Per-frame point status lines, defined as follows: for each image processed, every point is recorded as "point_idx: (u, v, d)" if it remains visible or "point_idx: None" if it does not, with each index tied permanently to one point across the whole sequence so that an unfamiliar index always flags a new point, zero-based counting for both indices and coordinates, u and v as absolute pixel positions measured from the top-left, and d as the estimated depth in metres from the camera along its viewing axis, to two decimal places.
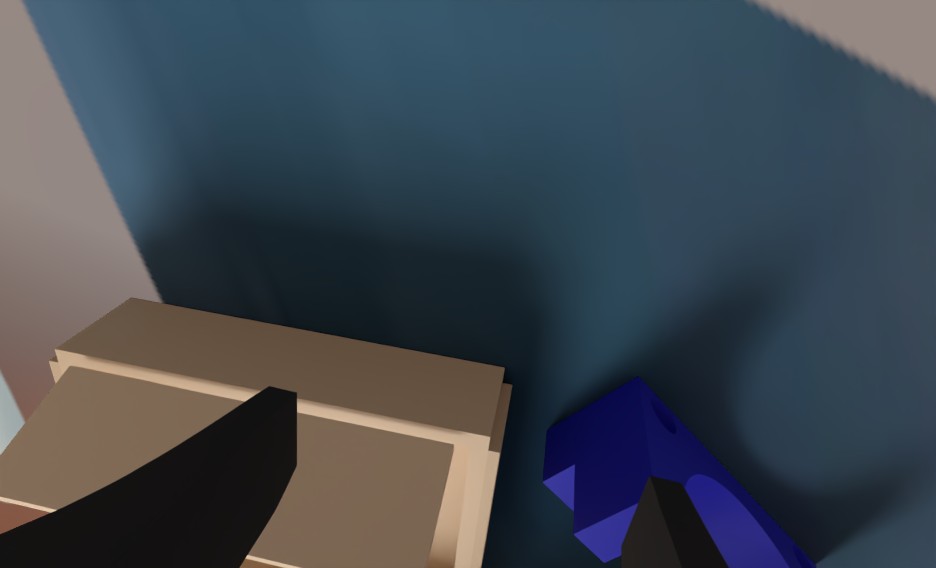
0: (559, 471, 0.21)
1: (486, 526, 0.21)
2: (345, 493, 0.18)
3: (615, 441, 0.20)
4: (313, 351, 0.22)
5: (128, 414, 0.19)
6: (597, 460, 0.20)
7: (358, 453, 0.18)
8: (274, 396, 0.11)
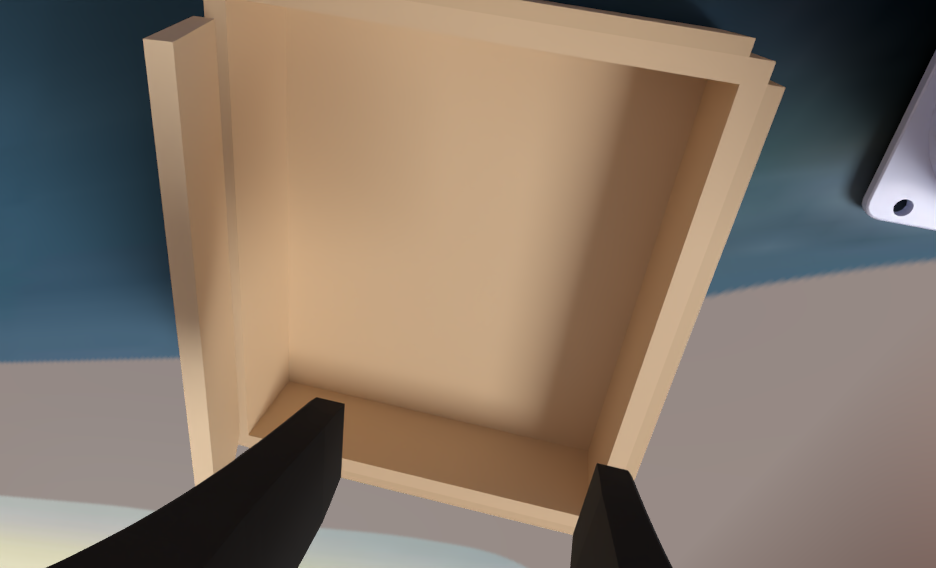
0: None
1: None
2: None
3: None
4: None
5: None
6: None
7: None
8: (323, 408, 0.11)
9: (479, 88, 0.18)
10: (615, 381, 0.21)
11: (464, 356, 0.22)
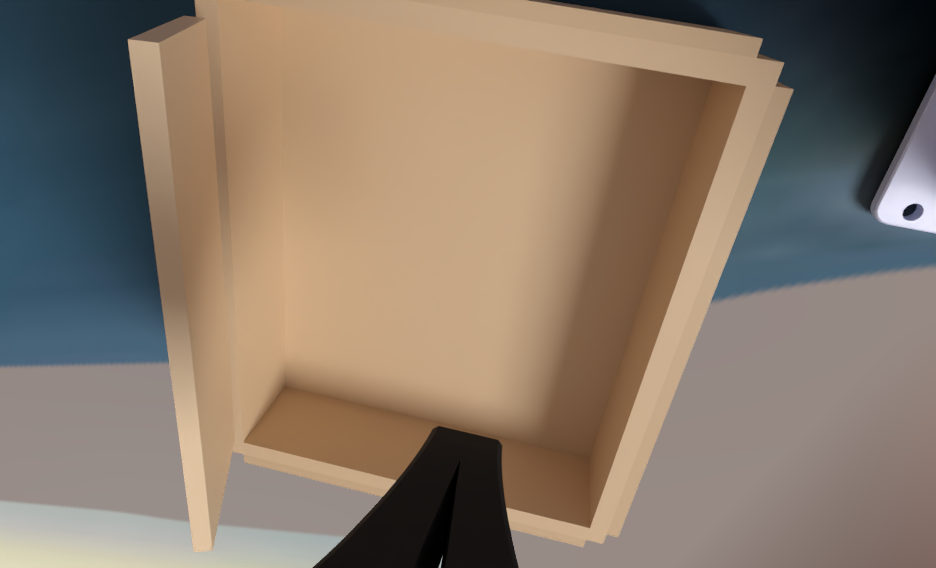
0: None
1: None
2: None
3: None
4: None
5: None
6: None
7: None
8: (450, 438, 0.11)
9: (478, 89, 0.17)
10: (617, 388, 0.20)
11: (464, 362, 0.22)
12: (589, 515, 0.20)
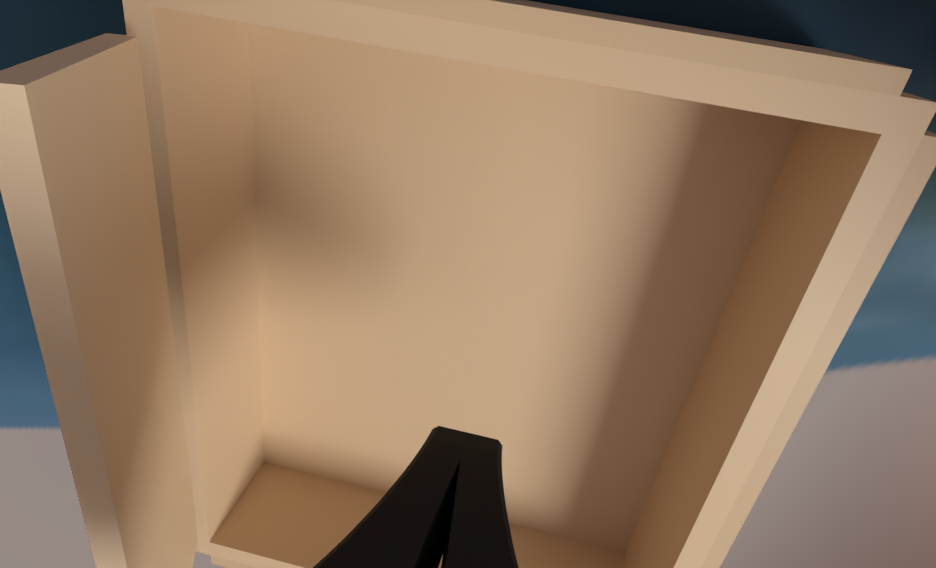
0: None
1: None
2: None
3: None
4: None
5: None
6: None
7: None
8: (450, 438, 0.11)
9: (499, 123, 0.14)
10: (664, 481, 0.17)
11: None
12: None
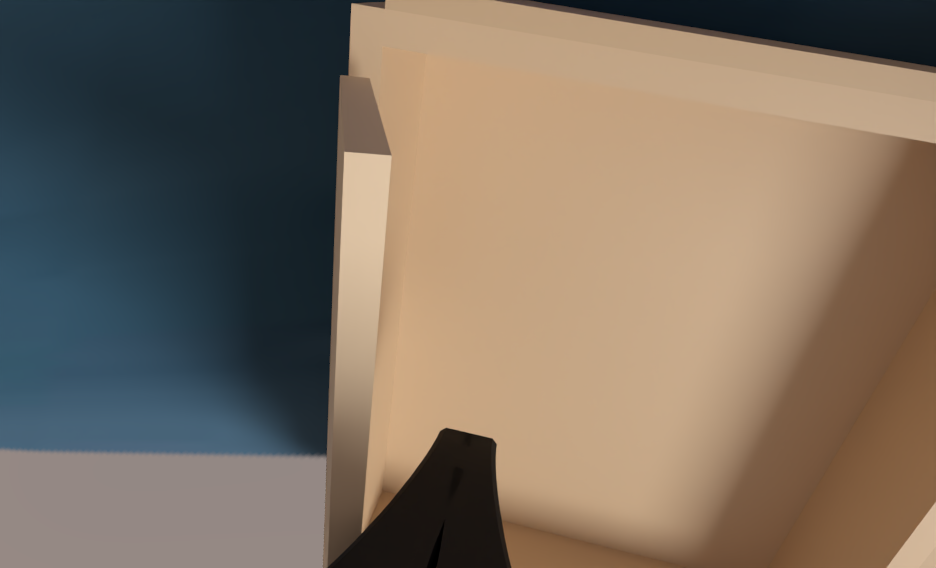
0: None
1: (600, 20, 0.09)
2: None
3: None
4: None
5: (324, 549, 0.14)
6: None
7: None
8: (458, 440, 0.11)
9: (684, 156, 0.13)
10: (819, 518, 0.16)
11: (613, 473, 0.18)
12: None
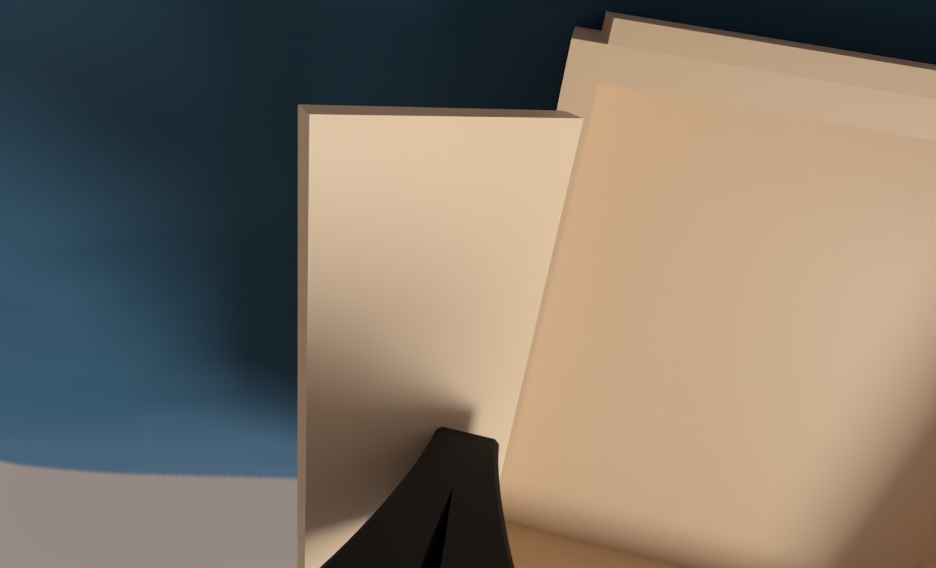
0: None
1: (844, 58, 0.09)
2: None
3: None
4: None
5: None
6: None
7: None
8: (455, 438, 0.11)
9: (856, 187, 0.13)
10: None
11: (739, 503, 0.17)
12: None
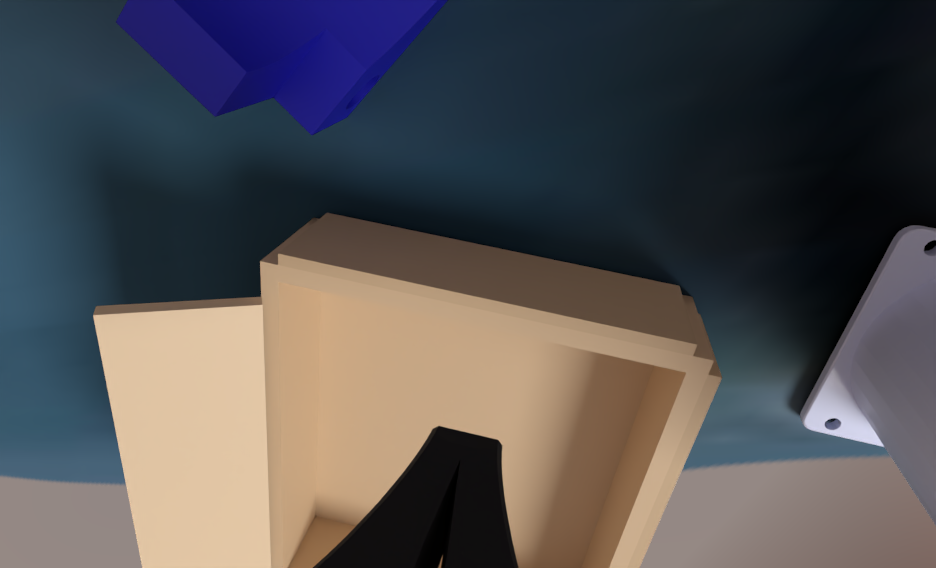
0: (292, 114, 0.17)
1: (389, 279, 0.17)
2: None
3: None
4: None
5: None
6: None
7: None
8: (450, 438, 0.11)
9: None
10: (597, 539, 0.24)
11: None
12: None
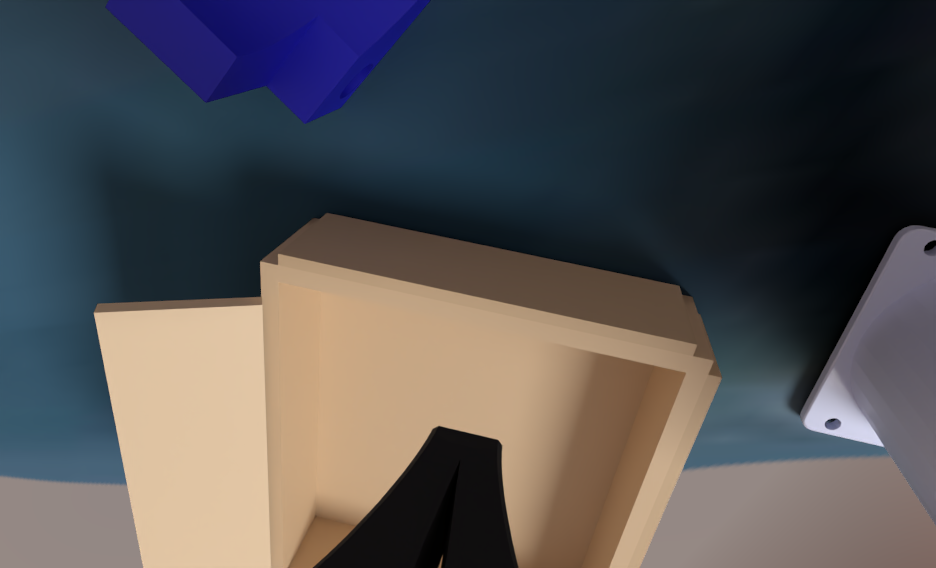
0: (285, 103, 0.17)
1: (389, 279, 0.17)
2: None
3: None
4: None
5: None
6: None
7: None
8: (450, 438, 0.11)
9: None
10: (597, 539, 0.24)
11: None
12: None
